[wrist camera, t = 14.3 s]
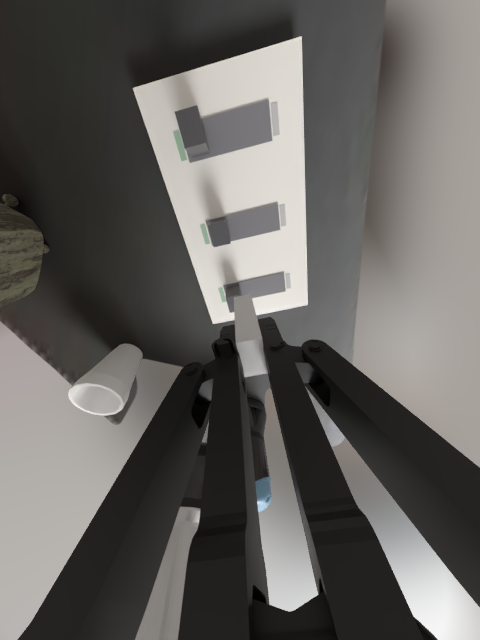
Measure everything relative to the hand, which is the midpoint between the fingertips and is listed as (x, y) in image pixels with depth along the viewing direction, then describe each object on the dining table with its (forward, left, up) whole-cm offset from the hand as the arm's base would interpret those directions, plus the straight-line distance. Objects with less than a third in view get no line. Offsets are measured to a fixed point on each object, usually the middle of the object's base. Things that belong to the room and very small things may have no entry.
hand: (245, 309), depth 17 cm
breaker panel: (+5, -2, -22) cm, 22 cm away
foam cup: (-17, +31, -22) cm, 42 cm away
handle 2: (-6, +2, -19) cm, 19 cm away
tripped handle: (+5, +2, -19) cm, 19 cm away
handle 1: (+16, +2, -19) cm, 25 cm away
